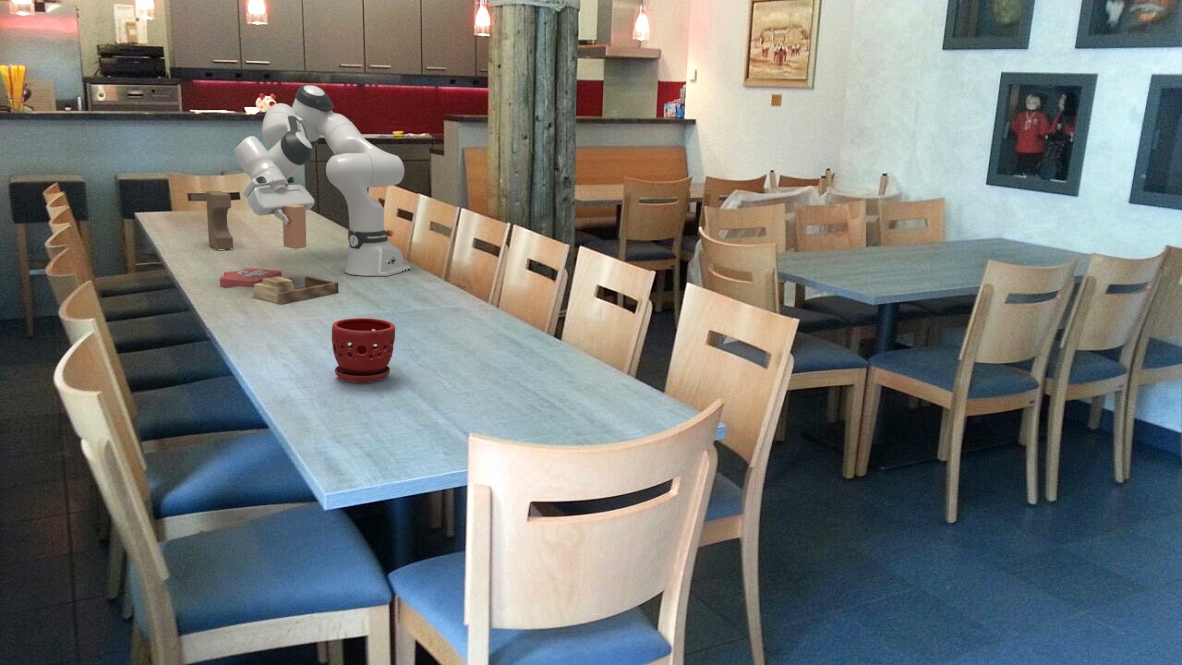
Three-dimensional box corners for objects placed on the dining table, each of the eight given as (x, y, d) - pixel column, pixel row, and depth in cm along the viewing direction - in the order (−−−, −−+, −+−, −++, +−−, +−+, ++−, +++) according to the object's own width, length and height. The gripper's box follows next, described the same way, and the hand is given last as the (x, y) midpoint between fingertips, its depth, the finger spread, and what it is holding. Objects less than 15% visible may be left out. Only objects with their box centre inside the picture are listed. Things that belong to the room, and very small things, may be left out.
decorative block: (233, 249, 338) (230, 194, 333) (217, 250, 335) (214, 194, 329) (224, 245, 346) (221, 190, 341) (208, 246, 343) (205, 191, 338)
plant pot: (381, 389, 195) (380, 333, 192) (322, 383, 197) (320, 327, 194) (404, 371, 207) (404, 319, 204) (348, 365, 209) (347, 313, 206)
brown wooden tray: (308, 289, 282) (307, 276, 281) (338, 296, 275) (338, 282, 274) (249, 300, 264) (249, 286, 263) (280, 308, 258) (280, 293, 257)
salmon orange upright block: (294, 244, 276) (293, 204, 273) (306, 247, 273) (305, 206, 270) (283, 246, 272) (282, 205, 269) (295, 248, 270) (294, 207, 267)
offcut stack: (273, 293, 270) (273, 274, 268) (299, 299, 264) (299, 280, 263) (252, 297, 264) (251, 278, 262) (278, 303, 258) (278, 284, 257)
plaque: (239, 265, 295) (284, 269, 293) (240, 277, 296) (284, 281, 294) (208, 275, 278) (254, 279, 276) (208, 288, 279) (255, 292, 277)
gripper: (294, 189, 283) (317, 225, 281) (238, 194, 266) (262, 232, 264) (304, 175, 280) (328, 212, 278) (248, 180, 263) (273, 218, 260)
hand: (295, 222), depth 271 cm, fingers closed on salmon orange upright block, 4 cm apart
